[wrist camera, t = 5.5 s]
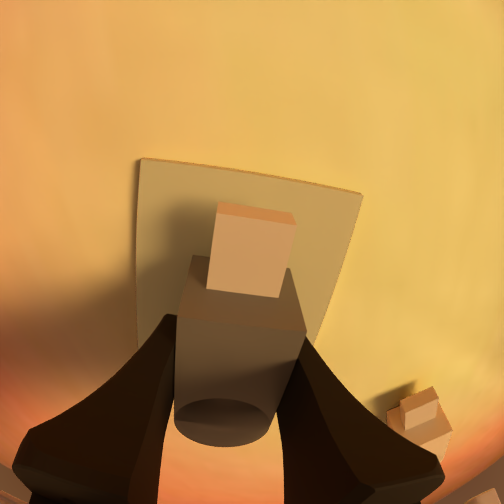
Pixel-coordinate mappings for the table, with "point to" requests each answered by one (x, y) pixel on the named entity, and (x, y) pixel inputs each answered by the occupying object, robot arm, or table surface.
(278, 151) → the table surface
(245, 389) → the tan-capped grey bottle
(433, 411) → the ivory plug
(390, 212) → the table surface
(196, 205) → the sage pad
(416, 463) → the robot arm
